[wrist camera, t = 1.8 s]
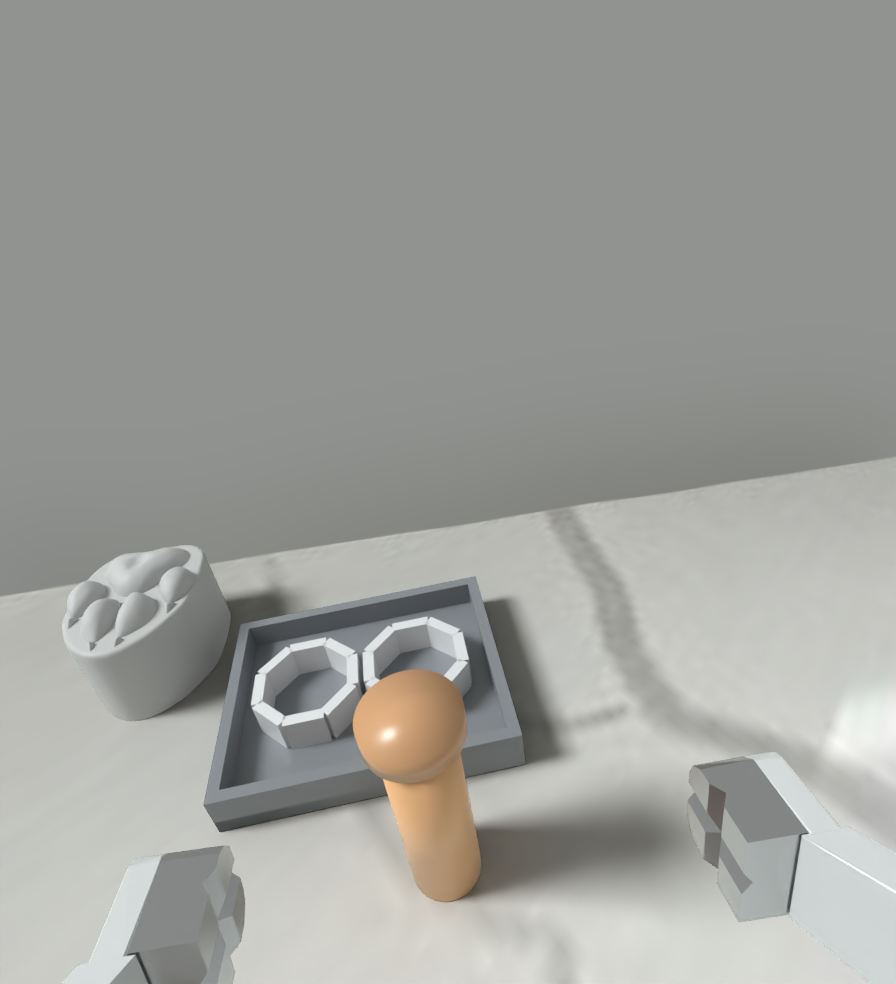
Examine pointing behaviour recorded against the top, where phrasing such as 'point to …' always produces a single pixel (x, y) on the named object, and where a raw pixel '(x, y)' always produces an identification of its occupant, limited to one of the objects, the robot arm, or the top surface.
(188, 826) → the top surface
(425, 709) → the round-headed peg
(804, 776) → the top surface
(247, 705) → the tray
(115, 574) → the lumpy-topped squat cylinder
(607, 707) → the top surface
